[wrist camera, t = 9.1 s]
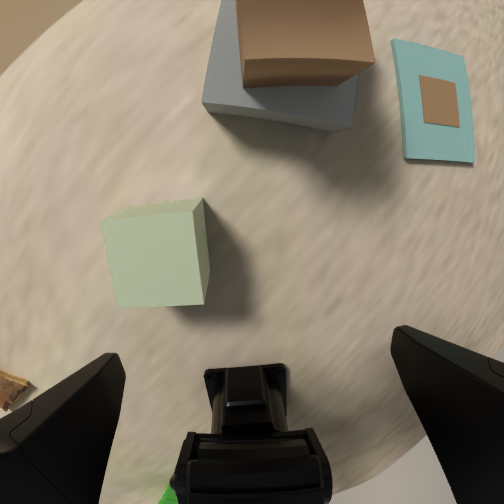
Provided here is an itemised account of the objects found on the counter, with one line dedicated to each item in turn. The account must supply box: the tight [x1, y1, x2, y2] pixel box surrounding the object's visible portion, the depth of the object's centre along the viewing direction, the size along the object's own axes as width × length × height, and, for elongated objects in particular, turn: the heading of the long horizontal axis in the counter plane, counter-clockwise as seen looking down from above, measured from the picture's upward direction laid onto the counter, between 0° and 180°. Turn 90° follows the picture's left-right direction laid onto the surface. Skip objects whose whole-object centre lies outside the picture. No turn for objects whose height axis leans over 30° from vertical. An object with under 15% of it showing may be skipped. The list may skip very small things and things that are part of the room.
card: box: [391, 39, 475, 163], centre depth 17 cm, size 9×7×1 cm
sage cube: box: [100, 198, 211, 308], centre depth 18 cm, size 5×5×5 cm
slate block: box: [202, 0, 358, 132], centre depth 15 cm, size 8×8×4 cm
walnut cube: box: [235, 0, 375, 88], centre depth 11 cm, size 5×5×5 cm
